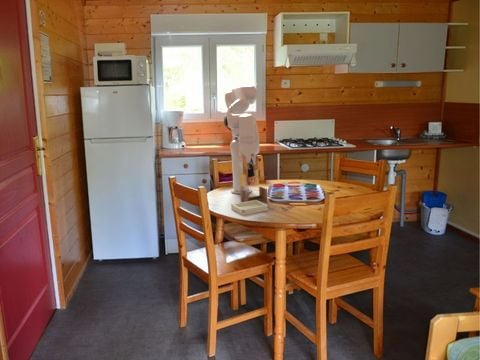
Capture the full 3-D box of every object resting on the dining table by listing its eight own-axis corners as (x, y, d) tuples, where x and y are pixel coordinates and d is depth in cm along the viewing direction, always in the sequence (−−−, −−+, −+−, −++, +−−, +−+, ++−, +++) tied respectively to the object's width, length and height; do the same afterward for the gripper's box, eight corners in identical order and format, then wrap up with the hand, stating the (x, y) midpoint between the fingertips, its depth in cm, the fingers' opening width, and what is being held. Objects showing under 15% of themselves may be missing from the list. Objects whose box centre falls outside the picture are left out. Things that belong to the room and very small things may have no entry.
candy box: (255, 183, 224) (253, 153, 221) (259, 184, 220) (257, 154, 218) (240, 185, 220) (238, 155, 217) (244, 186, 216) (242, 156, 214)
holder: (241, 202, 238) (240, 189, 236) (260, 198, 243) (260, 186, 242) (247, 205, 231) (246, 192, 230) (267, 201, 237) (267, 189, 235)
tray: (231, 209, 226) (231, 204, 225) (256, 204, 232) (256, 199, 232) (242, 215, 214) (242, 210, 214) (268, 210, 221) (268, 205, 220)
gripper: (232, 139, 221) (234, 174, 225) (248, 142, 206) (249, 179, 210) (245, 137, 224) (247, 172, 228) (261, 140, 210) (263, 177, 214)
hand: (248, 175), depth 219 cm, fingers closed on candy box, 4 cm apart
